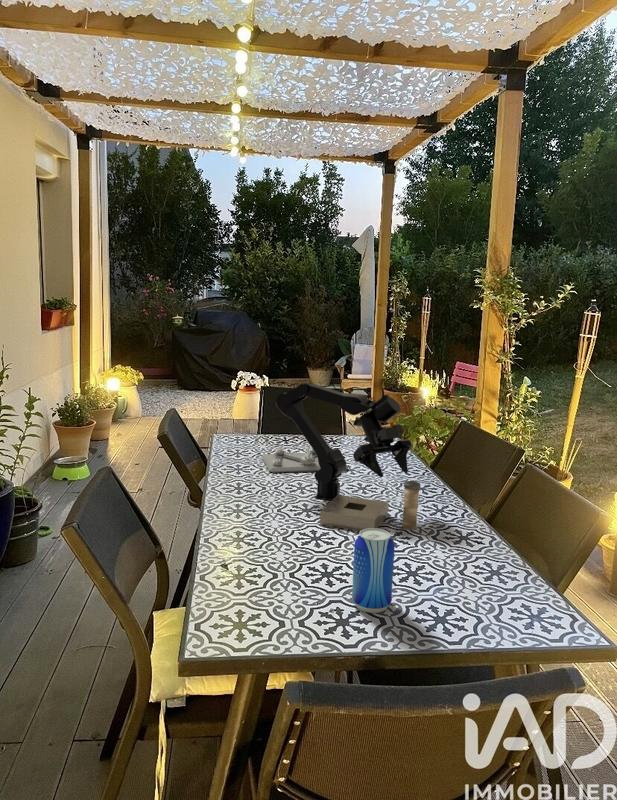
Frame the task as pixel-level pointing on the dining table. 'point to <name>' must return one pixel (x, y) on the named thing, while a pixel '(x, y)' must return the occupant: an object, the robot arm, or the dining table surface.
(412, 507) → the ash pin
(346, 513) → the grey square block
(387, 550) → the beer can
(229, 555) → the dining table surface
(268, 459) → the grey linkage board
